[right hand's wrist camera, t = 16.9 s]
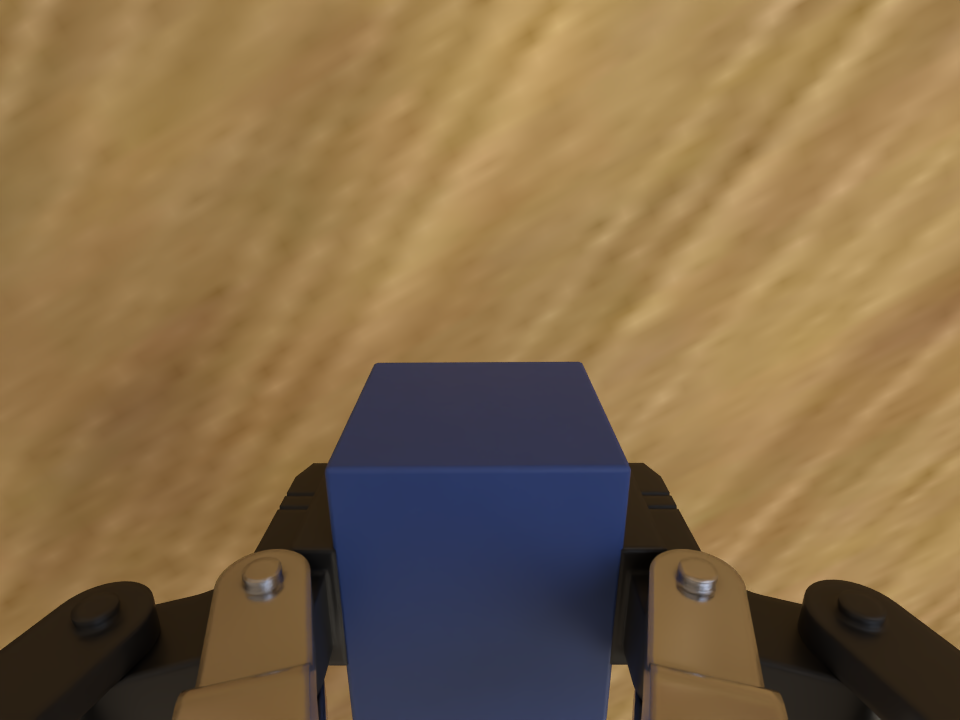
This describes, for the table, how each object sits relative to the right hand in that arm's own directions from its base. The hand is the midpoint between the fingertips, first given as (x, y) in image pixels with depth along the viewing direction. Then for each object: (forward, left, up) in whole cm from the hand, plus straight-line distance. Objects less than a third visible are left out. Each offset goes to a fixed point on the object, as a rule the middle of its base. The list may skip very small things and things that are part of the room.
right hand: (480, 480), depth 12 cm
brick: (0, 0, -1) cm, 1 cm away
